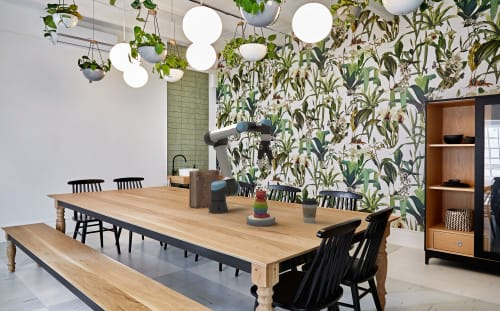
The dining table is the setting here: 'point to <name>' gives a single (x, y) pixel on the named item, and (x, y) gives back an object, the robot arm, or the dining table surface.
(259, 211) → the stacking bear
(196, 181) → the book
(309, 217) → the coffee cup
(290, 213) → the dining table surface
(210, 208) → the robot arm
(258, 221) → the pedestal
